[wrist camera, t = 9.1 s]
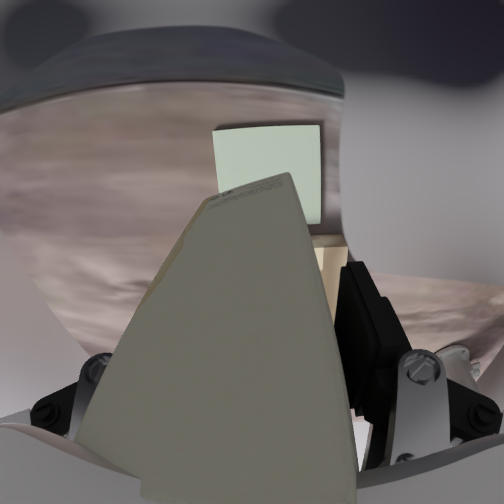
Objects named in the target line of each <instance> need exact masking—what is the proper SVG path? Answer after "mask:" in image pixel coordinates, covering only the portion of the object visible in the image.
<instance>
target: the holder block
mask: <svg viewBox="0 0 504 504" xmlns="http://www.w3.org/2000/svg"><path fill="white" fill-rule="evenodd" d="M310 236H311V240H312V243H313V247H314V250H315V254H316V258H317V261H318V265H319V269H320V272H321V276H322V280H323V284H324V288H325V292H326V296H327V300H328V304H329V308H330V312H331V316H332V320H333V325H334V320H335V313H336V305H337V297H338V288H339V279H340V269H341V267H342V266H346V263H347V255H348V245H347V243H346V241H345V239H344V238H343V236H342V234H328V235H310Z"/></svg>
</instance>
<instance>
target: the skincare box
mask: <svg viewBox="0 0 504 504" xmlns="http://www.w3.org/2000/svg"><path fill="white" fill-rule="evenodd" d="M73 441H74V442H76V443H79V444H82V445H84V446H86V447H87V448H89V449H90V450H92V451H93V452H95V453H96V454H98V455H100V456H101V457H103V458H104V459H106V460H108V461H109V462H111V463H113V464H114V465H116V466H118V467H120V468H121V469H123V470H125V471H127V472H128V473H130V474H132V475H134V476H136V477H138V478H140V479H141V489H140V496H141V497H142V498H143V499H144V500H146V501H149V502H153V503H158V504H357V490H356V472H359V466H358V458H357V451H356V444H355V437H354V431H353V424H352V417H351V411H350V405H349V399H348V393H347V388H346V382H345V377H344V371H343V366H342V361H341V357H340V352H339V347H338V343H337V338H336V334H335V329H334V325H333V320H332V316H331V312H330V308H329V304H328V300H327V296H326V292H325V288H324V284H323V280H322V276H321V272H320V269H319V265H318V261H317V258H316V254H315V250H314V247H313V243H312V240H311V236H310V233H309V229H308V226H307V222H306V219H305V215H304V212H303V209H302V206H301V202H300V199H299V196H298V193H297V190H296V187H295V184H294V182H293V179H292V176H291V174H290V173H289V172H285V173H281V174H278V175H274V176H271V177H267V178H264V179H261V180H257V181H254V182H251V183H248V184H245V185H242V186H239V187H236V188H233V189H230V190H227V191H225V192H222V193H219V194H217V195H214V196H212V197H209V198H207V199H205V200H204V201H203V202H202V204H201V205H200V207H199V208H198V210H197V211H196V213H195V215H194V216H193V217H192V219H191V220H190V222H189V224H188V225H187V227H186V228H185V230H184V231H183V233H182V234H181V236H180V238H179V239H178V241H177V242H176V244H175V245H174V247H173V249H172V250H171V252H170V254H169V255H168V257H167V258H166V260H165V262H164V263H163V265H162V266H161V268H160V270H159V272H158V273H157V275H156V276H155V278H154V280H153V282H152V283H151V285H150V287H149V288H148V290H147V292H146V294H145V295H144V297H143V299H142V300H141V302H140V304H139V306H138V308H137V310H136V311H135V313H134V315H133V317H132V319H131V321H130V323H129V325H128V326H127V328H126V330H125V332H124V334H123V335H122V337H121V339H120V341H119V343H118V345H117V347H116V349H115V351H114V353H113V355H112V357H111V359H110V361H109V363H108V365H107V367H106V369H105V371H104V373H103V375H102V377H101V379H100V381H99V384H98V386H97V388H96V390H95V392H94V394H93V396H92V398H91V401H90V403H89V405H88V408H87V410H86V413H85V415H84V417H83V419H82V422H81V424H80V426H79V428H78V430H77V433H76V435H75V438H74V440H73Z"/></svg>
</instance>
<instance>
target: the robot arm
mask: <svg viewBox="0 0 504 504" xmlns="http://www.w3.org/2000/svg"><path fill="white" fill-rule="evenodd" d="M334 329H335V334H336V338H337V343H338V347H339V352H340V357H341V361H342V366H343V371H344V377H345V382H346V388H347V393H348V399H349V405H350V409H353V408H354V410H355V416H356V417H358V416H364V419H365V420H366V421H367V422H369V423H370V427H369V433H368V439H367V444H366V450H365V454H364V459H363V464H362V468H361V471H360V472H356V490H357V504H504V410H503V411H502V412H500V409H499V407H498V406H497V404H496V403H495V402H494V401H493V400H492V399H490V398H488V397H486V396H484V395H482V394H481V392H480V390H479V388H478V386H477V384H476V381H475V379H474V378H475V377H478V376H479V374H480V370H479V368H480V365H481V364H480V362H476V363H474V364H471V363H470V361H469V358H470V353H469V350H468V349H467V347H466V346H464V345H453V346H449V347H447V348H444V349H442V350H440V351H438V352H437V353H435V354H434V353H432V352H430V351H428V350H423V349H414V350H412V347H411V345H410V343H409V341H408V339H407V336H406V334H405V332H404V330H403V328H402V326H401V323H400V321H399V319H398V317H397V315H396V313H395V311H394V309H393V307H392V305H391V303H390V301H389V299H388V298H387V297H385V296H384V297H381V296H380V294H379V292H378V290H377V288H376V286H375V284H374V282H373V280H372V278H371V276H370V274H369V272H368V270H367V268H366V266H365V264H364V262H363V261H356V262H347V263H346V266H342V267H341V269H340V279H339V288H338V297H337V305H336V313H335V320H334ZM112 355H113V354H112V353H100V354H96V355H94V356H92V357H91V358H89V359H88V360H87V361H86V362H85V363H84V365H83V366H82V369H81V371H80V375H79V380H78V381H77V382H75V383H73V384H71V385H69V386H67V387H65V388H63V389H61V390H59V391H56V392H54V393H52V394H50V395H48V396H46V397H44V398H42V399H40V400H39V401H38V402H37V403H36V404H35V405H34V406H33V408H32V410H30V409H27V410H24V411H21V412H18V413H15V414H12V415H9V416H6V417H3V418H0V504H158V503H153V502H149V501H146V500H144V499H143V498H142V497H141V496H140V489H141V479H140V478H138V477H136V476H134V475H132V474H130V473H128V472H127V471H125V470H123V469H121V468H120V467H118V466H116V465H114V464H113V463H111V462H109V461H108V460H106V459H104V458H103V457H101V456H100V455H98V454H96V453H95V452H93V451H92V450H90V449H89V448H87V447H86V446H84V445H82V444H79V443H76V442H74V441H73V440H74V438H75V435H76V433H77V430H78V428H79V426H80V424H81V422H82V419H83V417H84V415H85V413H86V410H87V408H88V405H89V403H90V401H91V398H92V396H93V394H94V392H95V390H96V388H97V386H98V384H99V381H100V379H101V377H102V375H103V373H104V371H105V369H106V367H107V365H108V363H109V361H110V359H111V357H112Z"/></svg>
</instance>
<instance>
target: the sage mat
mask: <svg viewBox="0 0 504 504" xmlns="http://www.w3.org/2000/svg"><path fill="white" fill-rule="evenodd" d="M212 133H213V143H214V152H215V161H216V170H217V179H218V187H219V193H222V192H225V191H227V190H230V189H233V188H236V187H239V186H242V185H245V184H248V183H251V182H254V181H257V180H261V179H264V178H267V177H271V176H274V175H278V174H281V173H285V172H289V173H290V174H291V176H292V179H293V182H294V184H295V187H296V190H297V193H298V196H299V199H300V202H301V206H302V209H303V212H304V215H305V219H306V222H307V224H320V218H321V162H320V128H319V125H290V126H266V127H250V128H238V129H227V130H217V131H212Z"/></svg>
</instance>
